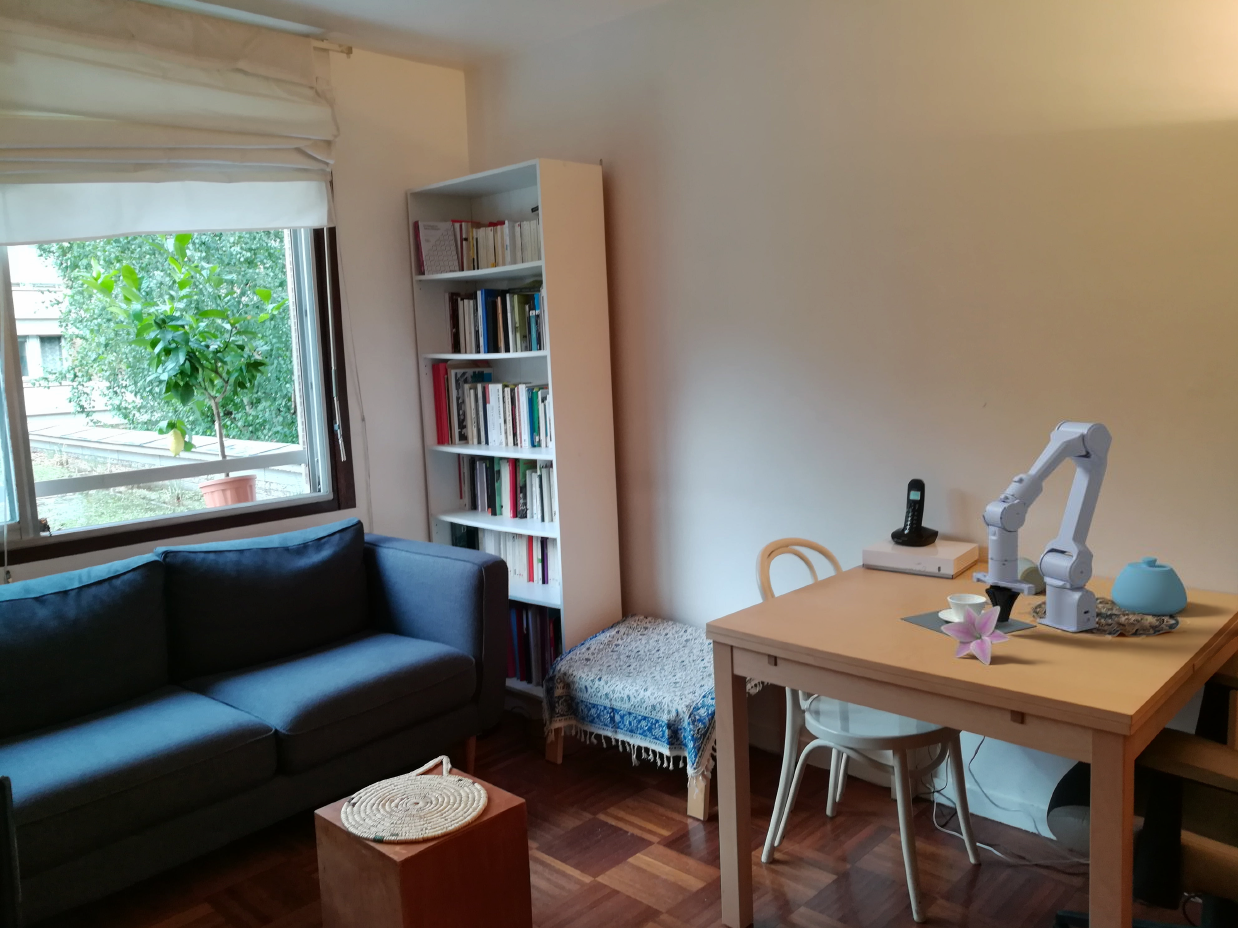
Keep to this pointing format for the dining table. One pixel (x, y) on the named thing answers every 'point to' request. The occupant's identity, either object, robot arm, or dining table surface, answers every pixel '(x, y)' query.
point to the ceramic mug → (1030, 574)
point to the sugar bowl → (1149, 588)
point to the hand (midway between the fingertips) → (1002, 621)
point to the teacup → (963, 606)
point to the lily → (976, 633)
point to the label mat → (937, 622)
